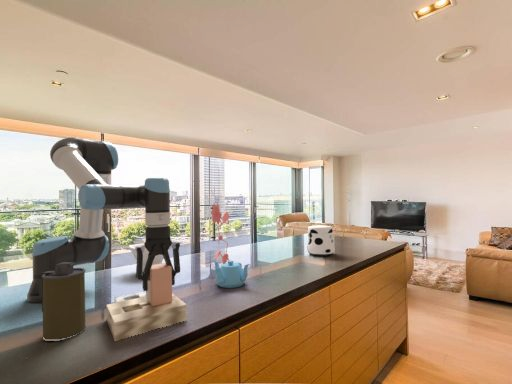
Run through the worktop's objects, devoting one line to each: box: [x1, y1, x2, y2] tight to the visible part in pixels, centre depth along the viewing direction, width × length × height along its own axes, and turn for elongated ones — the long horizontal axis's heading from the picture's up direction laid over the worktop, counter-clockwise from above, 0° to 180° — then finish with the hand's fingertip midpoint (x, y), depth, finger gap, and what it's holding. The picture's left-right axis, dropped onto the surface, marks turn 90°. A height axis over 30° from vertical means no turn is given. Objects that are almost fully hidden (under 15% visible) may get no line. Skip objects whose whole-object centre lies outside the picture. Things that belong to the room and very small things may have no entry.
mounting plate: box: [106, 292, 188, 342], centre depth 86 cm, size 20×16×5 cm
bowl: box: [128, 242, 172, 273], centre depth 147 cm, size 19×19×14 cm
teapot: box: [212, 258, 251, 289], centre depth 121 cm, size 15×15×10 cm
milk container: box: [306, 224, 336, 257], centre depth 178 cm, size 17×17×18 cm
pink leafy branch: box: [207, 203, 231, 268], centre depth 161 cm, size 15×26×35 cm, turn 32°
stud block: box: [148, 262, 173, 306], centre depth 89 cm, size 6×7×14 cm
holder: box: [114, 291, 146, 303], centre depth 98 cm, size 10×10×3 cm
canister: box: [41, 262, 87, 339], centre depth 80 cm, size 11×10×20 cm
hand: (159, 297), depth 89 cm, fingers closed on stud block, 6 cm apart
